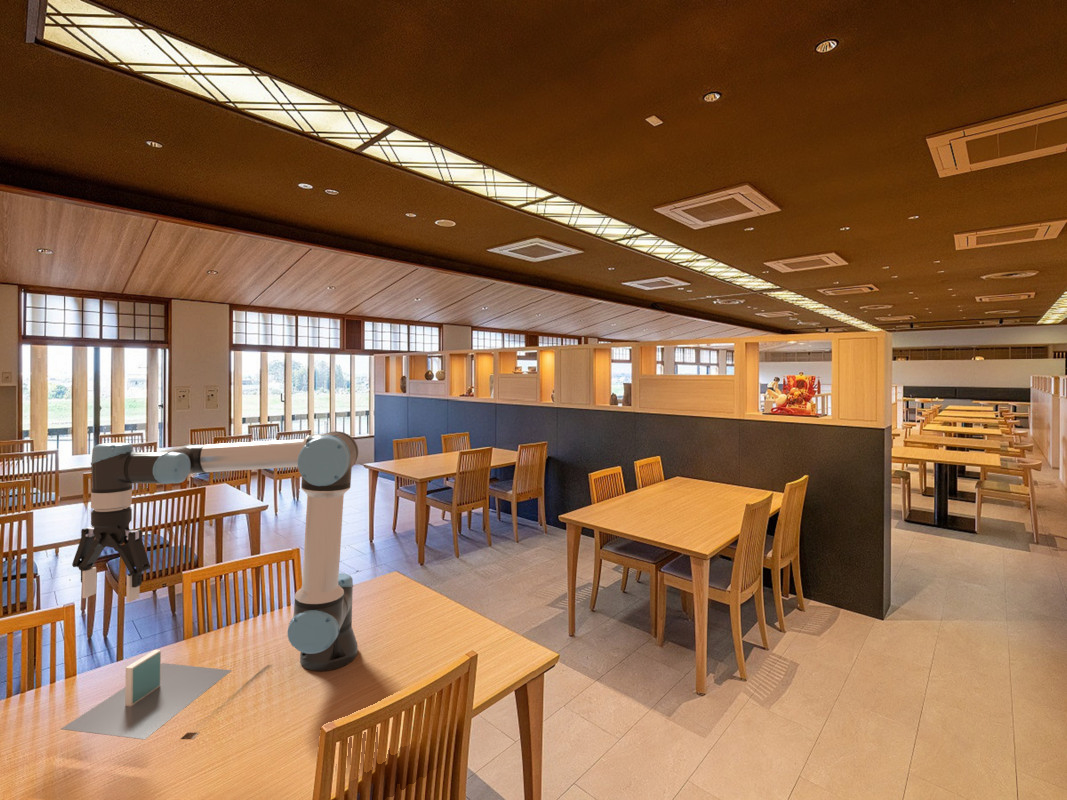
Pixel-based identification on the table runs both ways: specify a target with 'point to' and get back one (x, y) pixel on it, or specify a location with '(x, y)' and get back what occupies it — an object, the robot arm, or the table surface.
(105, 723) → the slate board
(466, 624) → the table surface
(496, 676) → the table surface
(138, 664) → the tile
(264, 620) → the table surface
